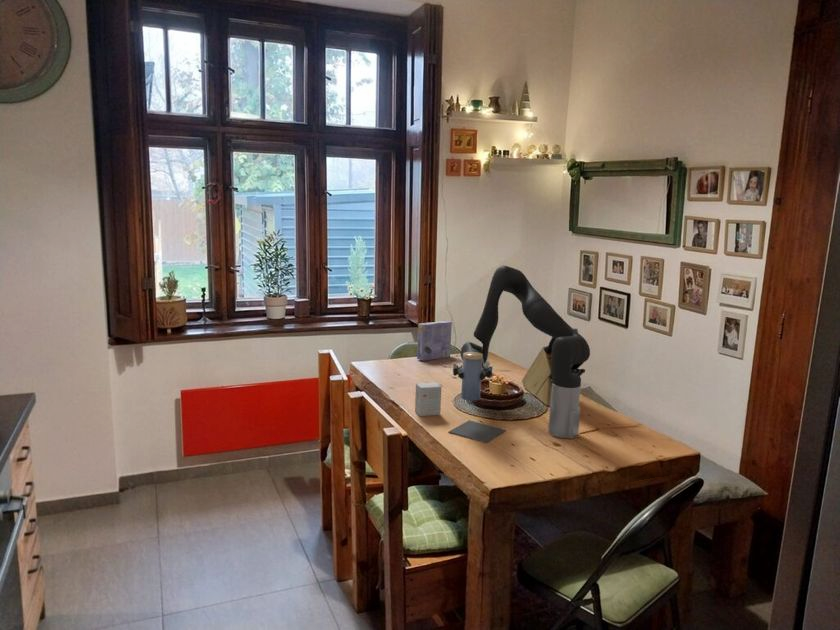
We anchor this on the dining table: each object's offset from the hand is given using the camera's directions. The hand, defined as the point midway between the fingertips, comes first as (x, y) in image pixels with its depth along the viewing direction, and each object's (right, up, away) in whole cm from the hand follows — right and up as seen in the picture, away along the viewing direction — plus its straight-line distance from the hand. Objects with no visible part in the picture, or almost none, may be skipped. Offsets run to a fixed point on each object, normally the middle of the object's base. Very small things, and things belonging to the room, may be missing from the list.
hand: (471, 376), depth 210 cm
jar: (0, -7, +4) cm, 8 cm away
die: (+10, -5, +73) cm, 74 cm away
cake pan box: (-10, 0, +95) cm, 96 cm away
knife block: (+34, -13, +38) cm, 52 cm away
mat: (+2, -18, -1) cm, 18 cm away
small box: (-15, -15, +16) cm, 26 cm away
